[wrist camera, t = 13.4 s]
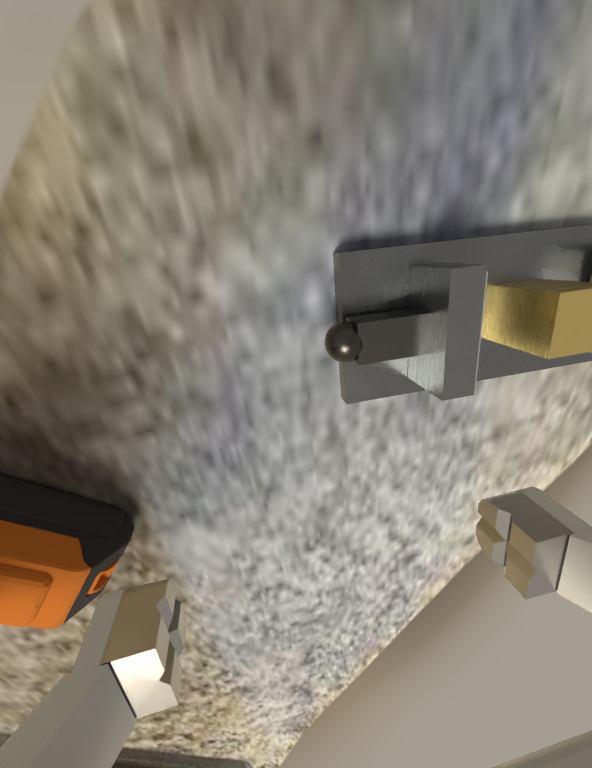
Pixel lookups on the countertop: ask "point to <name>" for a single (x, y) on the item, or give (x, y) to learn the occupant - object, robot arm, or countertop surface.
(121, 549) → the power drill
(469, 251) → the vise
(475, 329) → the jaw
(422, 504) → the countertop surface
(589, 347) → the block
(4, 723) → the countertop surface
